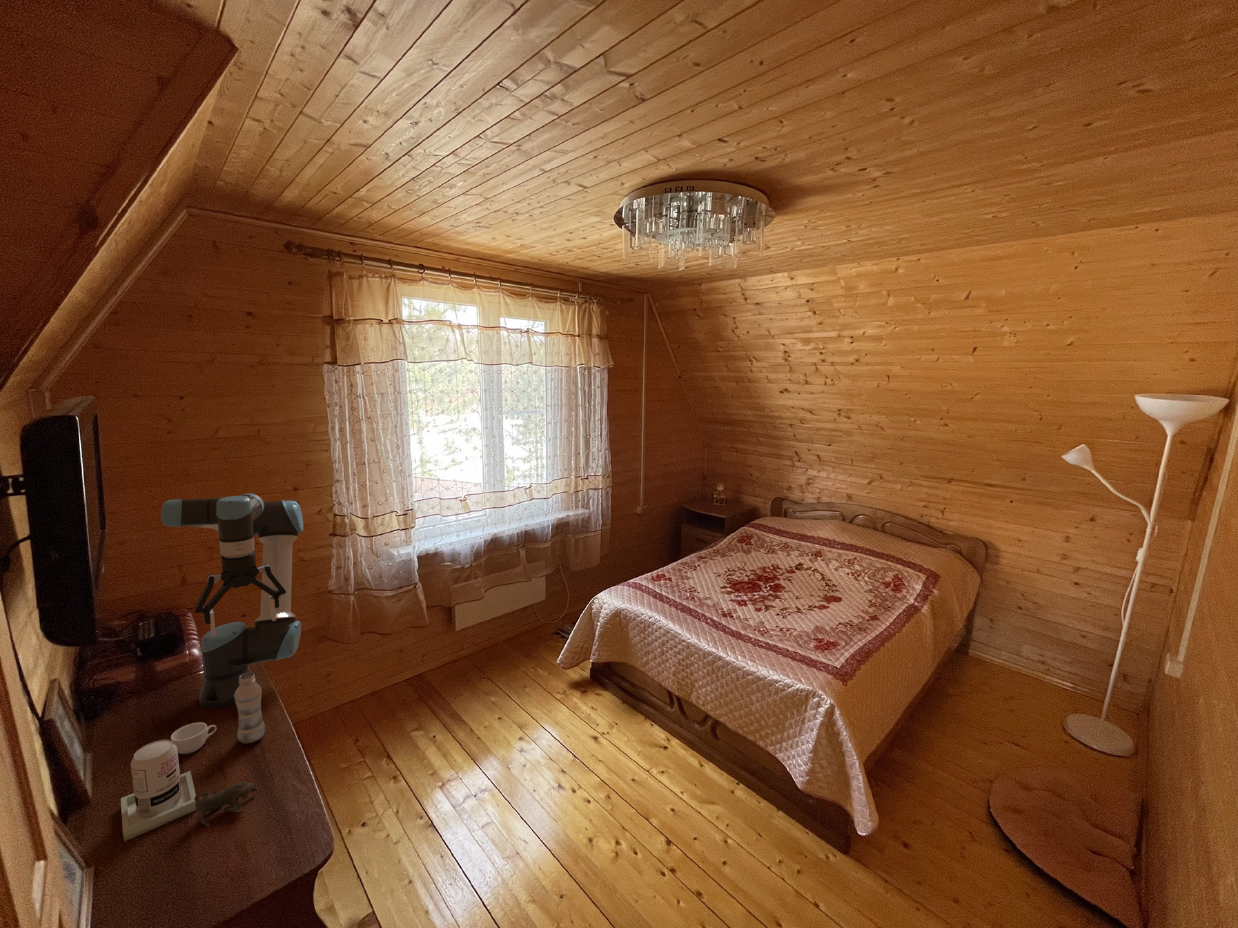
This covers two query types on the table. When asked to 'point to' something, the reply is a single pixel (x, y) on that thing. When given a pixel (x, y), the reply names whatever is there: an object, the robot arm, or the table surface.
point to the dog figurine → (222, 800)
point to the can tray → (140, 825)
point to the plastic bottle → (249, 709)
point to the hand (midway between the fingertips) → (244, 626)
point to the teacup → (191, 737)
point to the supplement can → (156, 778)
